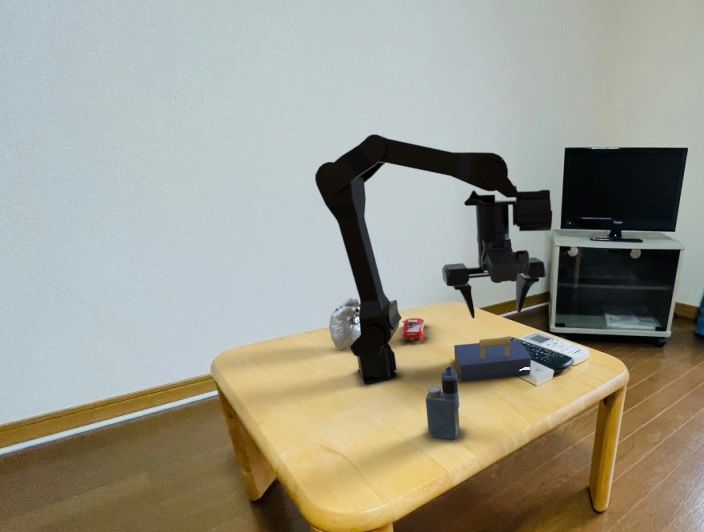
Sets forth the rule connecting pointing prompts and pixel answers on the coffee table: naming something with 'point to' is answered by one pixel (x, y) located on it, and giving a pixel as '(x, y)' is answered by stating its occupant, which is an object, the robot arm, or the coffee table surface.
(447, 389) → the vaping device
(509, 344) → the lid
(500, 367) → the box
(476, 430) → the coffee table surface
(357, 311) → the heart
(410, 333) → the race car
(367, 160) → the robot arm
